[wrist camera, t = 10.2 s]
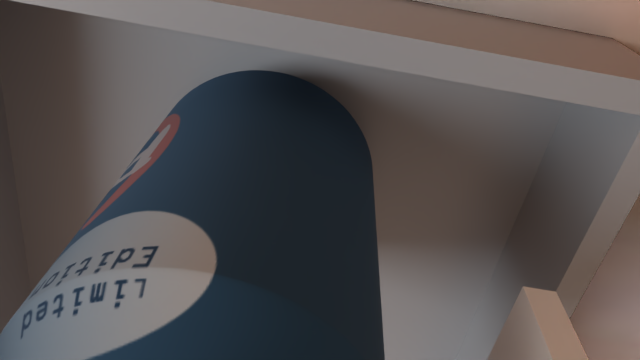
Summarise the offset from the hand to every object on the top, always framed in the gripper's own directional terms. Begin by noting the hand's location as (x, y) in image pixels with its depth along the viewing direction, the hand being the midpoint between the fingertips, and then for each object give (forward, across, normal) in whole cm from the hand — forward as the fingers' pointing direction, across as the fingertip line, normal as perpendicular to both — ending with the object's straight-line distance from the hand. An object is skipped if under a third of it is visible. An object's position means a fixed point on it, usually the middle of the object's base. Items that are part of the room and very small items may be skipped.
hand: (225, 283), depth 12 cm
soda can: (+7, 0, 0) cm, 7 cm away
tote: (+7, 0, -6) cm, 9 cm away
